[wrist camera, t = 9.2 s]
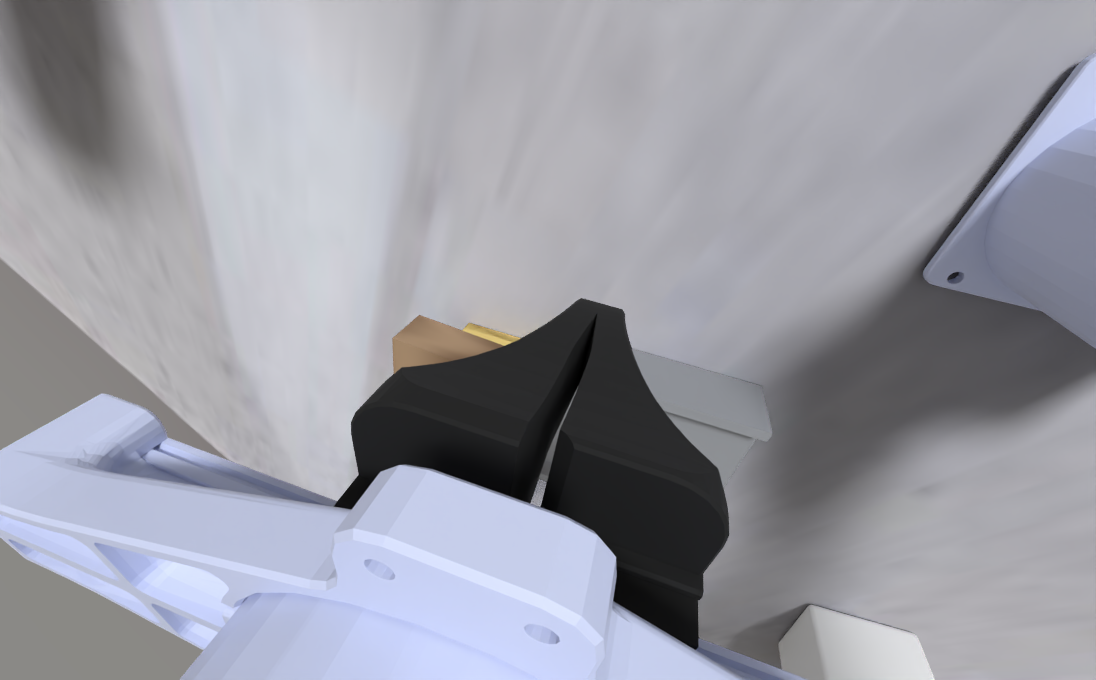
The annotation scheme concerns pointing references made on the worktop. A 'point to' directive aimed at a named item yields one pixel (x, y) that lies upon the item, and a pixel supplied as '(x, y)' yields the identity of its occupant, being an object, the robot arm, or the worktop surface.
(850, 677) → the medicine bottle
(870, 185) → the worktop surface
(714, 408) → the grey piece
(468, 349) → the cover
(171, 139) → the worktop surface
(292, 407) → the worktop surface
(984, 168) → the worktop surface
